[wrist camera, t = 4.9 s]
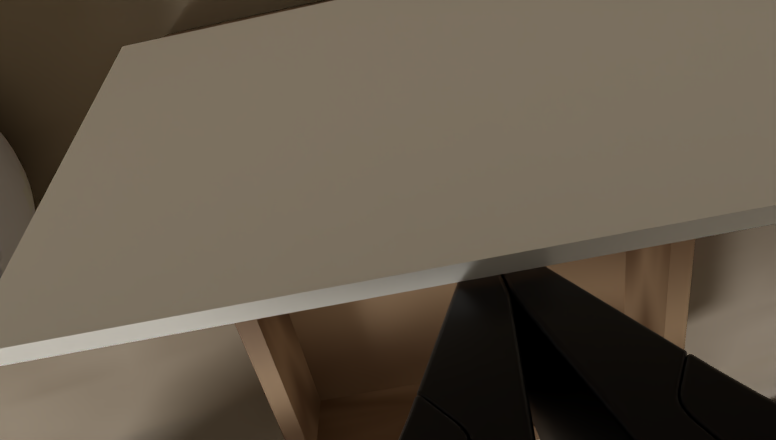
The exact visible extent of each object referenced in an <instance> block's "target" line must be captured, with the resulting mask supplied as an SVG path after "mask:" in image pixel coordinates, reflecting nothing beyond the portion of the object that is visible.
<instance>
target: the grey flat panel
mask: <svg viewBox="0 0 776 440" xmlns="http://www.w3.org/2000/svg"><path fill="white" fill-rule="evenodd" d="M773 224H776V0H333V1H329V2H324V3H320V4H315V5H310V6H306V7H301V8H297V9H292V10H288V11H283V12H278V13H274V14H269V15H265V16H260V17H255V18H251V19H246V20H242V21H237V22H232V23H228V24H223V25H219V26H214V27H209V28H205V29H200V30H196V31H191V32H186V33H182V34H177V35H173V36H168V37H163V38H159V39H154V40H150V41H145V42H140V43H136V44H131V45H127V46H122V48H121V50H120V52H119V54H118V56H117V58H116V59H115V61H114V63H113V65H112V67H111V69H110V71H109V73H108V75H107V77H106V79H105V80H104V82H103V84H102V86H101V88H100V90H99V92H98V94H97V96H96V98H95V99H94V101H93V103H92V105H91V107H90V109H89V111H88V113H87V115H86V117H85V118H84V120H83V122H82V124H81V126H80V128H79V130H78V132H77V134H76V136H75V137H74V139H73V141H72V143H71V145H70V147H69V149H68V151H67V153H66V155H65V157H64V158H63V160H62V162H61V164H60V166H59V168H58V170H57V172H56V174H55V176H54V177H53V179H52V181H51V183H50V185H49V187H48V189H47V191H46V193H45V195H44V196H43V198H42V200H41V202H40V204H39V206H38V208H37V210H36V212H35V214H34V215H33V217H32V219H31V221H30V223H29V225H28V227H27V229H26V231H25V233H24V235H23V236H22V238H21V240H20V242H19V244H18V246H17V248H16V250H15V252H14V254H13V255H12V257H11V259H10V261H9V263H8V265H7V267H6V269H5V271H4V273H3V274H2V276H1V278H0V366H3V365H9V364H14V363H20V362H25V361H31V360H36V359H42V358H47V357H52V356H58V355H63V354H69V353H74V352H80V351H85V350H91V349H96V348H102V347H107V346H112V345H118V344H123V343H129V342H134V341H140V340H145V339H151V338H156V337H162V336H167V335H173V334H178V333H183V332H189V331H194V330H200V329H205V328H211V327H216V326H222V325H227V324H233V323H238V322H243V321H249V320H254V319H260V318H265V317H271V316H276V315H282V314H287V313H293V312H298V311H304V310H309V309H314V308H320V307H325V306H331V305H336V304H342V303H347V302H353V301H358V300H364V299H369V298H374V297H380V296H385V295H391V294H396V293H402V292H407V291H413V290H418V289H424V288H429V287H434V286H440V285H445V284H451V283H456V282H462V281H467V280H473V279H478V278H484V277H489V276H495V275H500V274H505V273H511V272H516V271H522V270H527V269H533V268H538V267H544V266H549V265H555V264H560V263H565V262H571V261H576V260H582V259H587V258H593V257H598V256H604V255H609V254H615V253H620V252H626V251H631V250H636V249H642V248H647V247H653V246H658V245H664V244H669V243H675V242H680V241H686V240H691V239H696V238H702V237H707V236H713V235H718V234H724V233H729V232H735V231H740V230H746V229H751V228H757V227H762V226H767V225H773Z"/></svg>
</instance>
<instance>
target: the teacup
mask: <svg viewBox="0 0 776 440" xmlns="http://www.w3.org/2000/svg"><path fill="white" fill-rule="evenodd" d="M34 214H35V207H34V200H33V195H32V191H31V188H30V184H29V181H28V178H27V176H26V173H25V171H24V169H23V167H22V165H21V163H20V161H19V159H18V158H17V156H16V154H15V152H14V150H13V149H12V147H11V146H10V144H9V143H8V141H7V140H6V139H5V137H4V136H3V135H2V134H1V132H0V278H1V276H2V274H3V273H4V271H5V269H6V267H7V265H8V263H9V261H10V259H11V257H12V255H13V254H14V252H15V250H16V248H17V246H18V244H19V242H20V240H21V238H22V236H23V235H24V233H25V231H26V229H27V227H28V225H29V223H30V221H31V219H32V217H33V215H34Z"/></svg>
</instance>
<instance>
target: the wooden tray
mask: <svg viewBox="0 0 776 440" xmlns="http://www.w3.org/2000/svg"><path fill="white" fill-rule="evenodd" d="M329 1H333V0H323V1H319V2H314V3H309V4H305V5H300V6H296V7H291V8H287V9H282V10H277V11H273V12H268V13H264V14H259V15H254V16H250V17H245V18H241V19H236V20H231V21H227V22H222V23H218V24H213V25H209V26H204V27H199V28H195V29H190V30H186V31H181V32H176V33H172V34H168V35H166V36H164V37H168V36H173V35H177V34H182V33H186V32H191V31H196V30H200V29H205V28H209V27H214V26H219V25H223V24H228V23H232V22H237V21H242V20H246V19H251V18H255V17H260V16H265V15H269V14H274V13H278V12H283V11H288V10H292V9H297V8H301V7H306V6H310V5H315V4H320V3H324V2H329ZM162 38H163V37H162ZM694 248H695V239H691V240H686V241H680V242H675V243H669V244H664V245H658V246H653V247H647V248H642V249H636V250H631V251H626V252H620V253H615V254H609V255H604V256H598V257H593V258H587V259H582V260H576V261H571V262H565V263H560V264H555V265H549V266H546V267H547V268H549V269H551V270H552V271H554V272H556V273H557V274H559V275H561V276H562V277H564V278H566V279H567V280H569V281H571V282H572V283H574V284H576V285H577V286H579V287H581V288H582V289H584V290H586V291H587V292H589V293H591V294H592V295H594V296H596V297H597V298H599V299H601V300H602V301H604V302H605V303H607V304H609V305H610V306H612V307H614V308H615V309H617V310H619V311H620V312H622V313H624V314H625V315H627V316H629V317H630V318H632V319H634V320H635V321H637V322H639V323H640V324H642V325H644V326H645V327H647V328H649V329H650V330H652V331H654V332H655V333H657V334H659V335H660V336H662V337H664V338H665V339H667V340H669V341H670V342H672V343H674V344H675V345H677V346H679V347H680V348H682V349H683V350H684V347H685V337H686V327H687V317H688V308H689V298H690V288H691V278H692V268H693V258H694ZM456 285H457V282H456V283H451V284H445V285H440V286H434V287H429V288H424V289H418V290H413V291H407V292H402V293H396V294H391V295H385V296H380V297H374V298H369V299H364V300H358V301H353V302H347V303H342V304H336V305H331V306H325V307H320V308H314V309H309V310H304V311H298V312H293V313H287V314H282V315H276V316H271V317H265V318H260V319H254V320H249V321H243V322H238V323H235V326H236V328H237V330H238V333H239V335H240V337H241V339H242V342H243V344H244V346H245V349H246V351H247V353H248V356H249V358H250V360H251V362H252V365H253V367H254V369H255V372H256V374H257V376H258V379H259V381H260V383H261V385H262V388H263V390H264V392H265V395H266V397H267V399H268V402H269V404H270V406H271V409H272V411H273V413H274V415H275V418H276V420H277V422H278V425H279V427H280V429H281V432H282V434H283V436H284V438H285V440H398V439H399V437H400V434H401V432H402V430H403V427H404V425H405V422H406V420H407V418H408V415H409V412H410V409H411V407H412V404H413V401H414V399H415V397H416V396H417V391H418V388H419V386H420V383H421V380H422V378H423V375H424V372H425V369H426V367H427V364H428V361H429V359H430V356H431V353H432V350H433V348H434V345H435V342H436V340H437V337H438V334H439V331H440V329H441V326H442V323H443V321H444V318H445V315H446V312H447V310H448V307H449V304H450V302H451V299H452V296H453V293H454V291H455V288H456ZM533 426H534V423H533ZM534 432H535V438H536V439H540V438H539V436H538V433H537V431H536V428H535V426H534Z"/></svg>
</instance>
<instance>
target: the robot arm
mask: <svg viewBox="0 0 776 440" xmlns="http://www.w3.org/2000/svg"><path fill="white" fill-rule="evenodd" d="M533 423H534V426H535V428H536V431H537V433H538V436H539V438H540V440H776V402H775V401H773V400H771V399H769V398H767V397H765V396H763V395H761V394H759V393H757V392H756V391H754V390H752V389H750V388H749V387H747V386H745V385H743V384H742V383H740V382H738V381H736V380H735V379H733V378H731V377H729V376H728V375H726V374H724V373H722V372H721V371H719V370H717V369H715V368H714V367H712V366H710V365H709V364H707V363H705V362H704V361H702V360H700V359H699V358H697V357H696V356H694V355H692V354H689V355H687V352H686V351H685V350H683V349H682V348H680V347H679V346H677V345H675V344H674V343H672V342H670V341H669V340H667V339H665V338H664V337H662V336H660V335H659V334H657V333H655V332H654V331H652V330H650V329H649V328H647V327H645V326H644V325H642V324H640V323H639V322H637V321H635V320H634V319H632V318H630V317H629V316H627V315H625V314H624V313H622V312H620V311H619V310H617V309H615V308H614V307H612V306H610V305H609V304H607V303H605V302H604V301H602V300H601V299H599V298H597V297H596V296H594V295H592V294H591V293H589V292H587V291H586V290H584V289H582V288H581V287H579V286H577V285H576V284H574V283H572V282H571V281H569V280H567V279H566V278H564V277H562V276H561V275H559V274H557V273H556V272H554V271H552V270H551V269H549V268H547V267H546V266H544V267H538V268H533V269H527V270H522V271H516V272H511V273H505V274H500V275H495V276H489V277H484V278H478V279H473V280H467V281H462V282H457V285H456V288H455V291H454V293H453V296H452V299H451V302H450V304H449V307H448V310H447V312H446V315H445V318H444V321H443V323H442V326H441V329H440V331H439V334H438V337H437V340H436V342H435V345H434V348H433V350H432V353H431V356H430V359H429V361H428V364H427V367H426V369H425V372H424V375H423V378H422V380H421V383H420V386H419V388H418V391H417V396H416V397H415V399H414V401H413V404H412V407H411V409H410V412H409V415H408V418H407V420H406V422H405V425H404V427H403V430H402V432H401V434H400V437H399V439H398V440H536V438H535V432H534V426H533Z"/></svg>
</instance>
